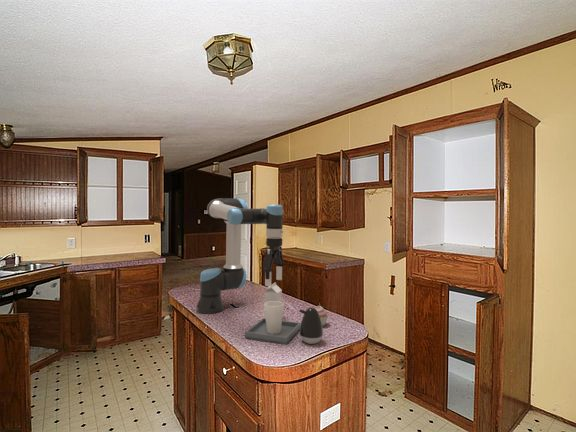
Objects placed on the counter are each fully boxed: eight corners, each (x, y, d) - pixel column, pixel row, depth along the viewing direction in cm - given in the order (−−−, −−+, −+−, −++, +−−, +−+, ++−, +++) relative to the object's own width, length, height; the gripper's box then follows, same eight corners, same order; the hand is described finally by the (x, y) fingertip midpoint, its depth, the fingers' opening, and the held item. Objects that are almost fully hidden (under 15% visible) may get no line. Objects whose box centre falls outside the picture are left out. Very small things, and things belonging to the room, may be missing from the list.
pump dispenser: (298, 337, 150) (298, 304, 150) (320, 336, 151) (320, 304, 151) (300, 346, 140) (301, 311, 140) (324, 346, 141) (325, 310, 141)
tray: (244, 338, 149) (245, 331, 149) (262, 324, 168) (262, 318, 168) (286, 344, 142) (286, 337, 142) (300, 329, 161) (300, 323, 161)
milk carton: (281, 317, 178) (282, 282, 177) (277, 322, 171) (277, 285, 171) (269, 316, 180) (269, 281, 180) (264, 320, 173) (264, 284, 173)
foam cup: (281, 335, 150) (281, 307, 149) (261, 334, 151) (261, 306, 151) (285, 328, 159) (285, 301, 159) (267, 327, 161) (267, 300, 160)
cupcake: (305, 324, 168) (306, 304, 168) (319, 320, 174) (319, 301, 173) (318, 329, 161) (318, 309, 160) (332, 325, 166) (332, 305, 166)
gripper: (271, 240, 141) (271, 289, 142) (290, 235, 165) (290, 278, 165) (255, 239, 144) (255, 288, 144) (276, 235, 167) (276, 276, 168)
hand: (273, 282), depth 155 cm, fingers open, 13 cm apart
